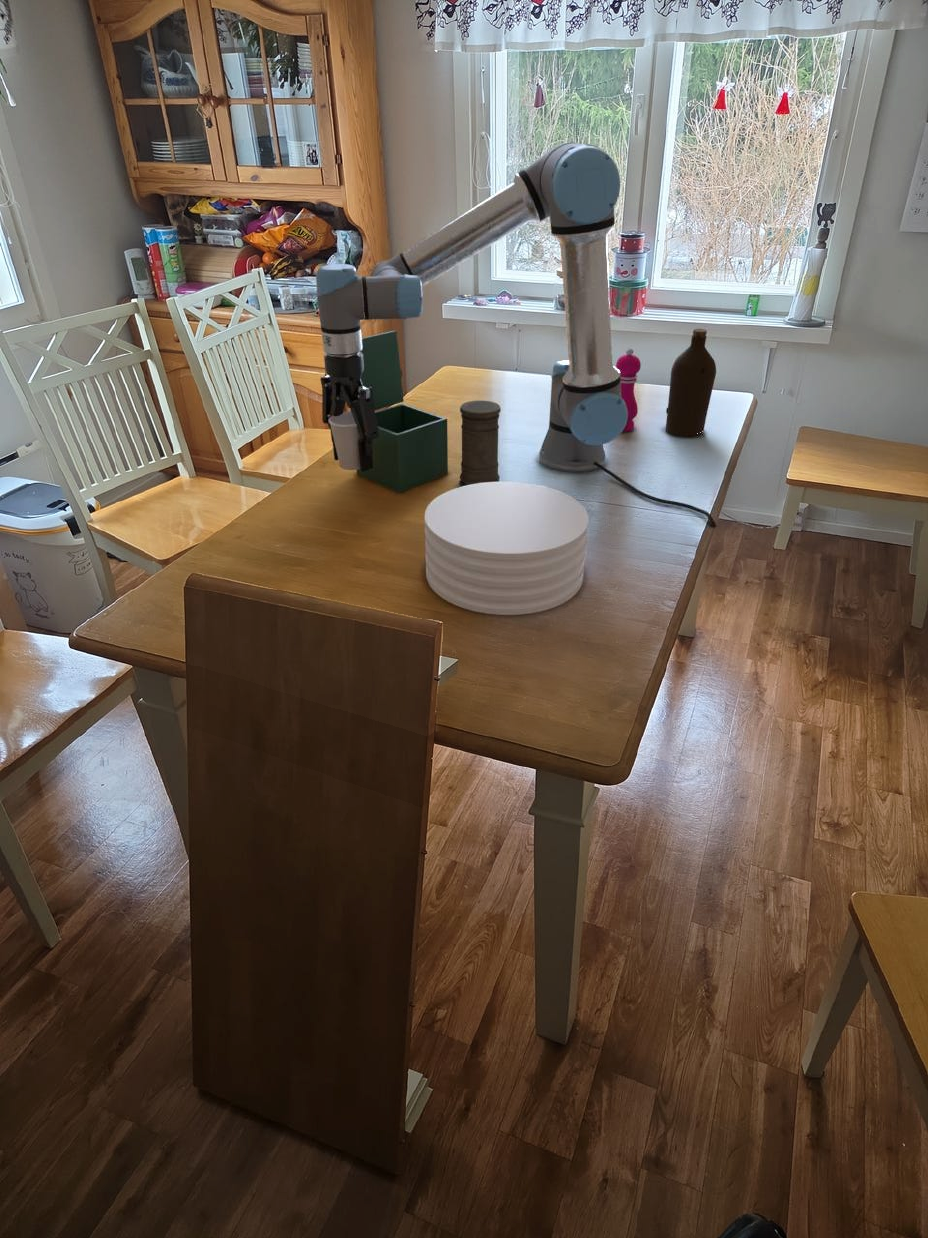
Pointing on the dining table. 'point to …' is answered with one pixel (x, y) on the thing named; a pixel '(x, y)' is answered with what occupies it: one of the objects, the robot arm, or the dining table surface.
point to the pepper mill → (629, 384)
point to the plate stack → (505, 547)
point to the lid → (382, 369)
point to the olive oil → (690, 389)
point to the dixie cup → (346, 440)
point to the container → (479, 442)
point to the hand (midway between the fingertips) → (353, 463)
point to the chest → (408, 448)
